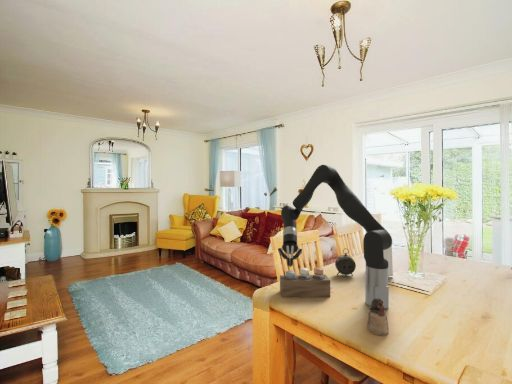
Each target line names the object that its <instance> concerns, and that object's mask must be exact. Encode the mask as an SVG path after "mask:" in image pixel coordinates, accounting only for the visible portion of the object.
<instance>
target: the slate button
mask: <svg viewBox="0 0 512 384" xmlns="http://www.w3.org/2000/svg"><path fill="white" fill-rule="evenodd" d="M285 275H286V278H288V279H293V278H295V275H296V272H295V271H293V270H287V271H285Z"/></svg>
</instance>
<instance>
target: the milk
mask: <svg viewBox="0 0 512 384" xmlns="http://www.w3.org/2000/svg"><path fill="white" fill-rule="evenodd" d="M392 245H393V244H392ZM392 245H391V247H390V248H388V249H385V250H383V254H384V259H386V260H387V261H388V276H393V277H394V269H393V267H394V266H393V246H392Z"/></svg>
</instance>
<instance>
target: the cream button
mask: <svg viewBox="0 0 512 384" xmlns="http://www.w3.org/2000/svg"><path fill="white" fill-rule="evenodd" d="M299 275H303V276H307V275H310V269H309V268H308V267H301V268H300V269H299Z"/></svg>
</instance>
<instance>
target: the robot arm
mask: <svg viewBox="0 0 512 384" xmlns="http://www.w3.org/2000/svg"><path fill="white" fill-rule="evenodd" d="M322 183H324V184H326V185H327V186H329V187H330V189H331V190H333V193H334V194H335V197H336V201H337V204H338V206H339V207H340V208H341V210H342V211H343V212H344V214H345V215H346V216H347V217H348V218H350V219H351V220H353V221H354V222H355V223H356V224H358V225H359V226H361V227H362V228H363V229H364V230H365V231H366V233H365V234H364V236H363V242H362V244H363V258H364V261H365V288H364V289H365V295H364V296H365V298H364V300H365V304H366V306H369V308H371V304H372V300H374V299H375V298H380V299H381V300H382V301H383V306H384V310H385V309H389V301H390V300H389V299H390V298H389V296H390V295H389V294H390V292H389V291H390V288H389V277H388V261H387V260H386V259H384V254H383V250H385V249H388V248H390V247H391V245H393V239H392V238H393V237H392V236H391V234H390V232H389V231H388V230H387V229H386V228H385V227H384V226H383V225H382V224H380V223H379V221H377V219H376V218H375V217H374V216H373V214H372V213H371V212H370V211H369V210H368V209H367V207H366V206H365V205H364V203H362V201H361V200H360V198H359V197H358V196H357V195H356V194H355V193H354V192H353V190H352V189H351V188H350V187H349V186H348V185H347V184H346V182H345V181H344V179H343V178H342V177H341V175H340V173H339V172H338V170H337V169H336V168H335V167H333V166H331V165H327V164H320V165H319V166H317V168H316V169H315V170H314V171H313V173H312V174H311V177H310V179H308V181H307V183H306V184H305V186H304V187H303V189H302V190H301V191H300V192H299V193H298V194H297V196H296V197H295V198H294V199H293V201H292V205H293V207H292V206H290V205H288V204H287V205H284V206H283V207H282V209H281V211H280V215H281V219H282V223H283V233H282V235H283V236H282V246H281V248H280V247H279V248H277V249H278V253H279V255H280V256H281V257H282V259H283V260H286V262H287V263H286V265H287V267H289V268H292V266H294V260H297V259H298V258H299V257H300V255H301V254H302V253H303V249H302V248H300V247H299V246H298V231H297V222H296V221H297V220H298V219H299V217H300V215H301V214H302V211H303V209H304V208H305V207H306V206H307V205H308V204H309V202H310V201H311V200H312V197H313V195H314V193H315V190H317V188H318V187H319V186H320V185H322Z"/></svg>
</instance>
